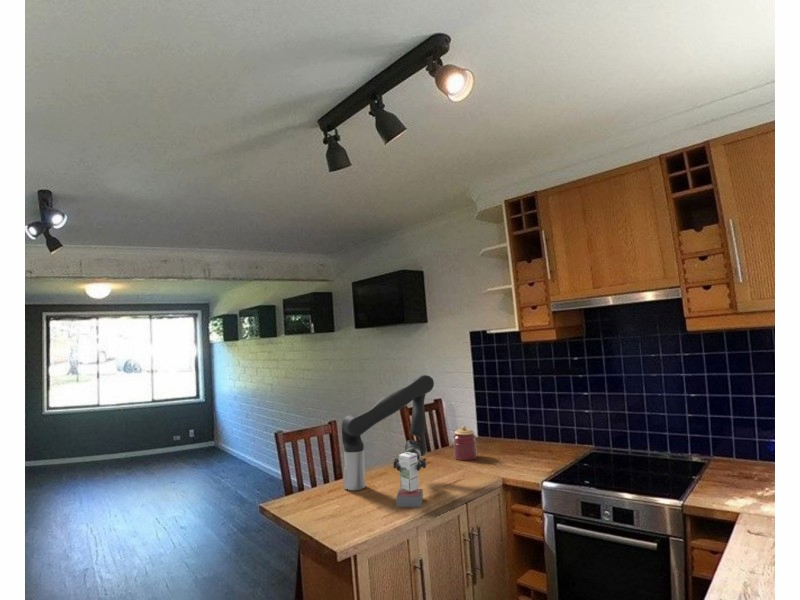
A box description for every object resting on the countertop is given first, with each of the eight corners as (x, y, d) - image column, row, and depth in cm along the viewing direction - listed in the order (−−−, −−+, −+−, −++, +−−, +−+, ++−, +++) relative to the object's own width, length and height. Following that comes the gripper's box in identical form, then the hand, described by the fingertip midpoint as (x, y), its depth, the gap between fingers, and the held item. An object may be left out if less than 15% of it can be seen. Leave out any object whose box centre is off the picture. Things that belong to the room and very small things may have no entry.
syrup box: (419, 488, 192) (417, 453, 193) (410, 492, 188) (408, 456, 189) (409, 485, 196) (407, 451, 197) (400, 489, 192) (398, 454, 193)
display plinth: (396, 507, 187) (396, 496, 187) (399, 498, 197) (399, 488, 197) (421, 507, 186) (420, 496, 186) (422, 498, 196) (422, 488, 196)
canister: (470, 462, 248) (468, 429, 249) (449, 459, 255) (448, 427, 257) (481, 456, 258) (479, 424, 259) (461, 453, 266) (459, 422, 267)
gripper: (396, 449, 208) (390, 459, 192) (427, 448, 206) (424, 459, 190) (396, 466, 207) (391, 477, 191) (428, 465, 206) (425, 477, 189)
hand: (408, 468), depth 191 cm, fingers closed on syrup box, 7 cm apart
